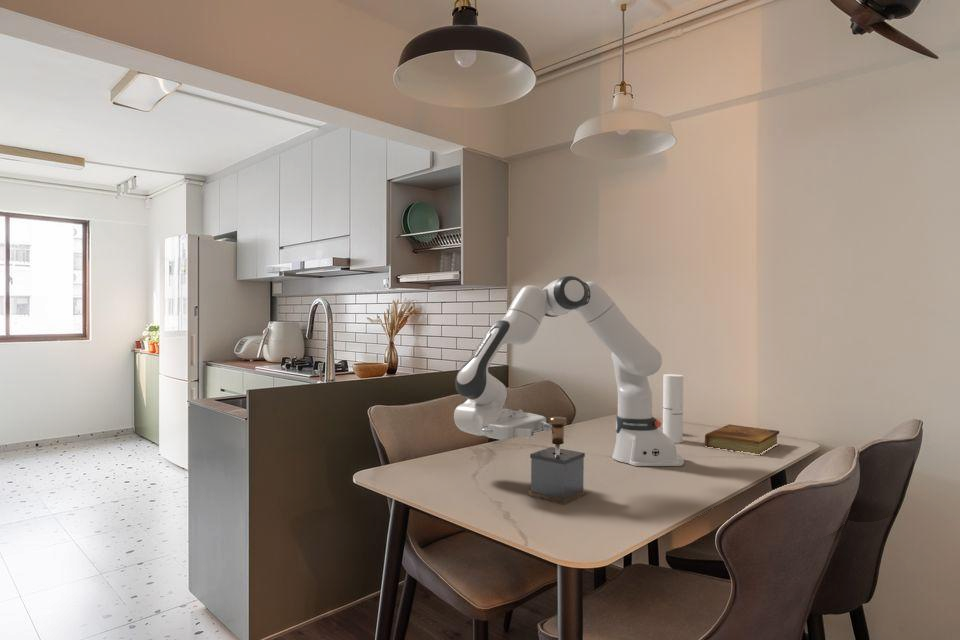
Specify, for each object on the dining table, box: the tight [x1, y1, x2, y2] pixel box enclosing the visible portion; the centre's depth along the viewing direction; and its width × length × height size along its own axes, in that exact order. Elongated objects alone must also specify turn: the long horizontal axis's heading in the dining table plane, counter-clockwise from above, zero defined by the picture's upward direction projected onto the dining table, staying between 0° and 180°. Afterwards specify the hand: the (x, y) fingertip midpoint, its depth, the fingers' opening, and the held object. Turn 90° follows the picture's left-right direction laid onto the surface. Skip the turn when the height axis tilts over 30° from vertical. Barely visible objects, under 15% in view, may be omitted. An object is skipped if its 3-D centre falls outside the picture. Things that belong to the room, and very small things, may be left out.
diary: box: [704, 423, 780, 456], centre depth 208 cm, size 23×19×6 cm
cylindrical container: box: [662, 373, 684, 444], centre depth 215 cm, size 7×7×25 cm
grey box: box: [528, 446, 587, 505], centre depth 151 cm, size 11×11×11 cm
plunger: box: [549, 416, 567, 455], centre depth 151 cm, size 8×8×19 cm
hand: (541, 430), depth 154 cm, fingers open, 8 cm apart
